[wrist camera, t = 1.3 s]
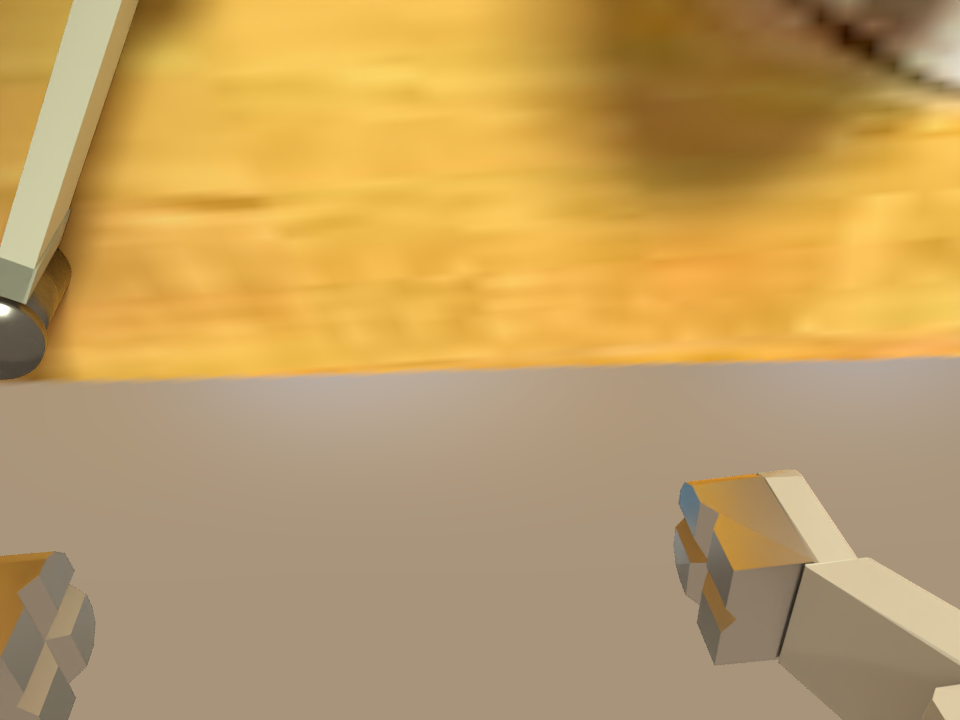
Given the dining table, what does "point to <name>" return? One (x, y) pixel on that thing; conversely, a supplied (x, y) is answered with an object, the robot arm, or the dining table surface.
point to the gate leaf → (62, 140)
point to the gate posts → (31, 320)
